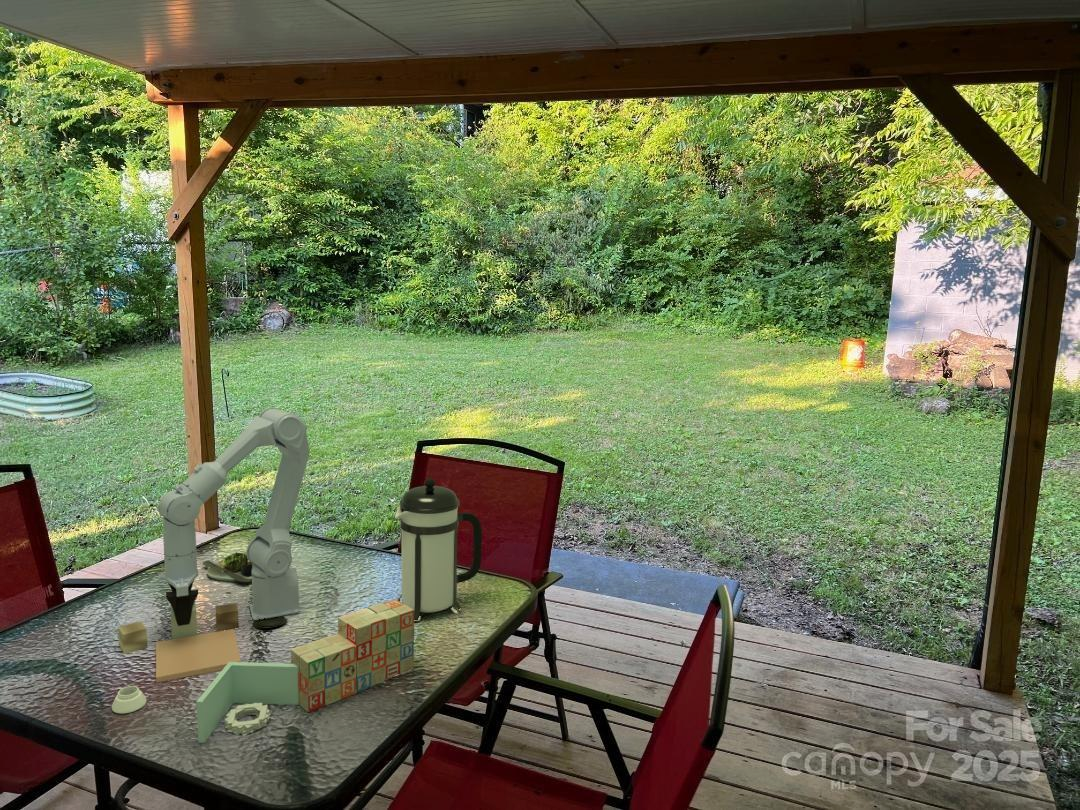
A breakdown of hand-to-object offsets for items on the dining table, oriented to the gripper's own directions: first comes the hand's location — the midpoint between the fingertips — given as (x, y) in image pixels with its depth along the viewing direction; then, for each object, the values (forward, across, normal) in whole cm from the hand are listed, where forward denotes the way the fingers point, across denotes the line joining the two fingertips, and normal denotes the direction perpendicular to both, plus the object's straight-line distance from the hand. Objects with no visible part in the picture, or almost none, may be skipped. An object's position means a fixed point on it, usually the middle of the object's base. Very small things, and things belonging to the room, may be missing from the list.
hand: (183, 616), depth 146 cm
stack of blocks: (+4, +31, +27) cm, 41 cm away
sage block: (+4, 0, 0) cm, 4 cm away
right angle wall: (+5, +36, +9) cm, 37 cm away
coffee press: (+4, +7, +50) cm, 51 cm away
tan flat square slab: (+4, +10, +2) cm, 11 cm away
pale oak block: (+4, +1, -9) cm, 10 cm away
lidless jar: (+5, +23, -9) cm, 25 cm away
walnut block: (+4, -1, +8) cm, 9 cm away
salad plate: (+5, -30, +15) cm, 34 cm away
